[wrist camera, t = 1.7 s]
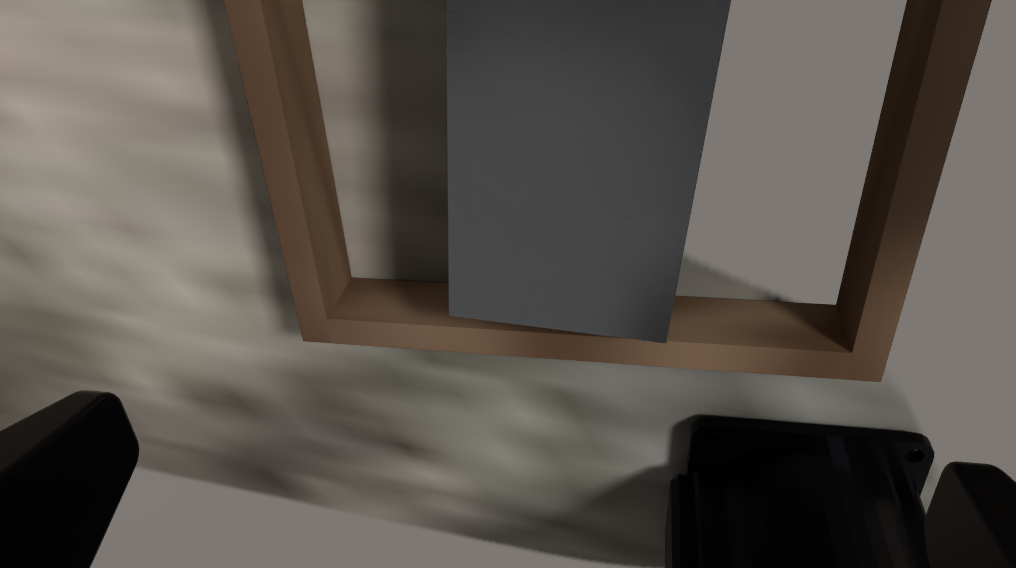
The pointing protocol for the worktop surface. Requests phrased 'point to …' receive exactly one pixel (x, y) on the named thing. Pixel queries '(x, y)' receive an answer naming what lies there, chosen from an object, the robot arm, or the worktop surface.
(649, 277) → the dark gray box
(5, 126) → the worktop surface
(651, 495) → the worktop surface
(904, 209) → the walnut box
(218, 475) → the worktop surface
